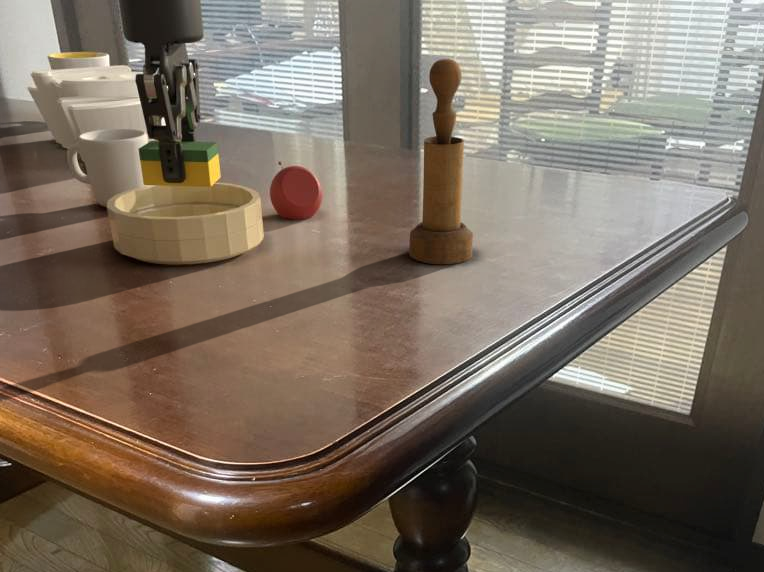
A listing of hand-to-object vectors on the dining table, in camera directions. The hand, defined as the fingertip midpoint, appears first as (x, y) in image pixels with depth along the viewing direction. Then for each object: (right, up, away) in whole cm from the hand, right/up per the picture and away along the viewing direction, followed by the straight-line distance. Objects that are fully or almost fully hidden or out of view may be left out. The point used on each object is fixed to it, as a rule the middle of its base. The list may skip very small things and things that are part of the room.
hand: (181, 175), depth 91 cm
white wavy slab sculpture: (-23, +22, +45) cm, 55 cm away
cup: (-13, +4, +18) cm, 22 cm away
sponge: (0, 0, 0) cm, 1 cm away
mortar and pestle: (+27, -8, 0) cm, 28 cm away
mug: (-34, +39, +68) cm, 85 cm away
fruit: (+10, +1, +14) cm, 17 cm away
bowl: (0, -6, +3) cm, 7 cm away
